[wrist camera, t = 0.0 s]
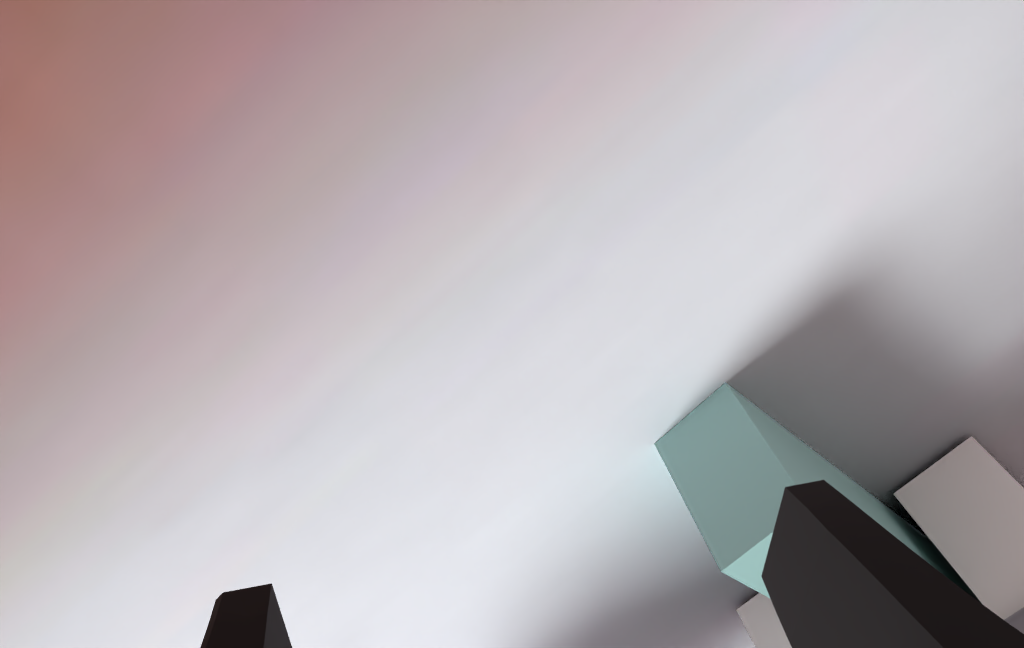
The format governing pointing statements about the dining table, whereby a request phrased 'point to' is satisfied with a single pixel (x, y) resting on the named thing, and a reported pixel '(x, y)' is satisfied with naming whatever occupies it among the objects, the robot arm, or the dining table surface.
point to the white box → (950, 535)
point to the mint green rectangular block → (759, 484)
